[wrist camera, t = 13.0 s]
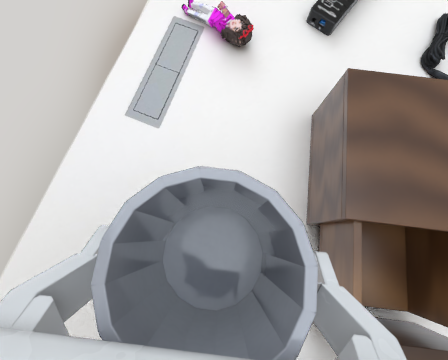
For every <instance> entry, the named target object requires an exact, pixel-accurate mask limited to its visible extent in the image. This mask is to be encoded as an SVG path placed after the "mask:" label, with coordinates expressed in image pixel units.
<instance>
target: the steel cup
mask: <svg viewBox="0 0 448 360" xmlns="http://www.w3.org/2000/svg"><path fill="white" fill-rule="evenodd" d="M317 285H318V264H317V261H316V258H315V255H314V252H313V249H312V246H311V243H310V241H309V238H308V235H307V232H306V229H305V226H304V224H303V222H302V221H301V220H300V218H299V217H298V216H297V215H296V214H295V212H294V211H293V210H292V209H291V208H290V207H289V205H288V204H287V203H286V202H285V201H284V199H283V198H282V197H281V196H280V195H279V193H278V192H277V191H275V190H274V189H272V188H271V187H269V186H267V185H265V184H263V183H261V182H260V181H258V180H256V179H254V178H252V177H250V176H249V175H247V174H245V173H243V172H241V171H240V172H239V171H238V170H229V169H221V168H212V167H204V166H200V167H199V166H198V167H194V168H190V169H186V170H183V171H179V172H175V173H171V174H167V175H164V176H161V177H159V178H157V179H156V180H154V181H153V182H152V183H150V184H149V185H148V186H146V187H145V188H143V189H142V190H141V191H139V192H138V193H137V194H135V195H134V196H132V197H131V198H130V199H128V200H127V201H126V202H125V203H124V205H123V206H122V208H121V209H120V211H119V212H118V214H117V215H116V217H115V218H114V220H113V221H112V223H111V224H110V226H109V227H108V229H107V231H106V232H105V234H104V235H103V237H102V240H101V241H100V245H99V250H98V254H97V259H96V263H95V268H94V272H93V277H92V282H91V291H92V297H93V303H94V309H95V316H96V322H97V328H98V332H100V333H99V335H100V337H101V338H102V340H104V341H112V342H120V343H128V344H136V345H144V346H152V347H160V348H168V349H176V350H183V351H191V352H199V353H207V354H215V355H223V356H231V357H239V358H246V359H254V360H296V357H298V355H299V352H300V350H301V348H302V345H303V343H304V341H305V339H306V336H307V334H308V332H309V329H310V327H311V325H312V323H313V320H314V318H315V316H316V312H317Z"/></svg>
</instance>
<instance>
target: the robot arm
mask: <svg viewBox="0 0 448 360" xmlns="http://www.w3.org/2000/svg"><path fill="white" fill-rule="evenodd" d="M108 227H109V226H107V225H101V226H100V227H99V228H98V229H97V230H96V232H95V233H94V235H93V236H92V237H91V239H90V240H89V242H88V243H87V244H86V246H85V247H84V249H83V250H82V251H81V253H80V254H74V255H73V256H71V257H69V258H67V259H66V260H64V261H62V262H60V263H58V264H57V265H55V266H53V267H51V268H49V269H48V270H46V271H44V272H42V273H40V274H39V275H37V276H35V277H33V278H31V279H30V280H28V281H26V282H24V283H22V284H21V285H19V286H17V287H15V288H13V289H12V290H10V291H9V293H8V294H7V295H6V296H5V297H4V298H3V299H2V301H1V302H0V360H254V359H246V358H239V357H231V356H223V355H215V354H207V353H199V352H191V351H183V350H176V349H168V348H160V347H152V346H144V345H136V344H128V343H120V342H112V341H104V340H96V339H89V338H81V337H73V336H69V333H68V331H67V329H66V327H65V324H64V322H65V321H66V320H67V319H69V318H70V317H71V316H72V315H73V314H74V313H76V312H77V311H78V310H79V309H80V308H82V307H83V306H84V305H85V304H86V303H87V302H89V301H90V300H91V299H92V298H93V297H92V291H91V282H92V277H93V272H94V268H95V263H96V259H97V254H98V250H99V245H100V241H101V240H102V237H103V235H104V234H105V232H106V231H107V229H108ZM313 252H314V255H315V258H316V261H317V264H318V285H317V312H316V316H315V318H314V320H313V321H314V323H315V324H316V326H317V327H318V328H319V330H320V331H321V333H322V334H323V336H324V337H325V339H326V340H327V341H328V343H329V344H330V346H331V347H332V349H333V350H334V351H335V353H336V354H337V356H338V357H337V359H336V360H407V359H406V357H405V355H404V352H403V350H402V348H401V346H400V344H399V342H398V340H397V338H396V337H395V336H394V335H392V334H391V333H390V332H389V331H388V330H387V329H386V328H385V327H384V326H383V325H382V324H381V323H380V322H379V321H378V320H377V319H376V318H375V317H374V316H373V315H372V314H371V313H370V312H369V311H368V310H367V309H366V308H365V307H364V306H363V305H362V304H361V303H359V302H358V301H357V300H356V299H355V298H354V297H353V296H352V295H351V294H350V293H349V292H348V291H347V290H346V289H345V288H344V287H342V286H339V283H338V281H337V278H336V275H335V272H334V269H333V267H332V264H331V261H330V258H329V256H328V254H327V253H326V252H319V251H313Z"/></svg>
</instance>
